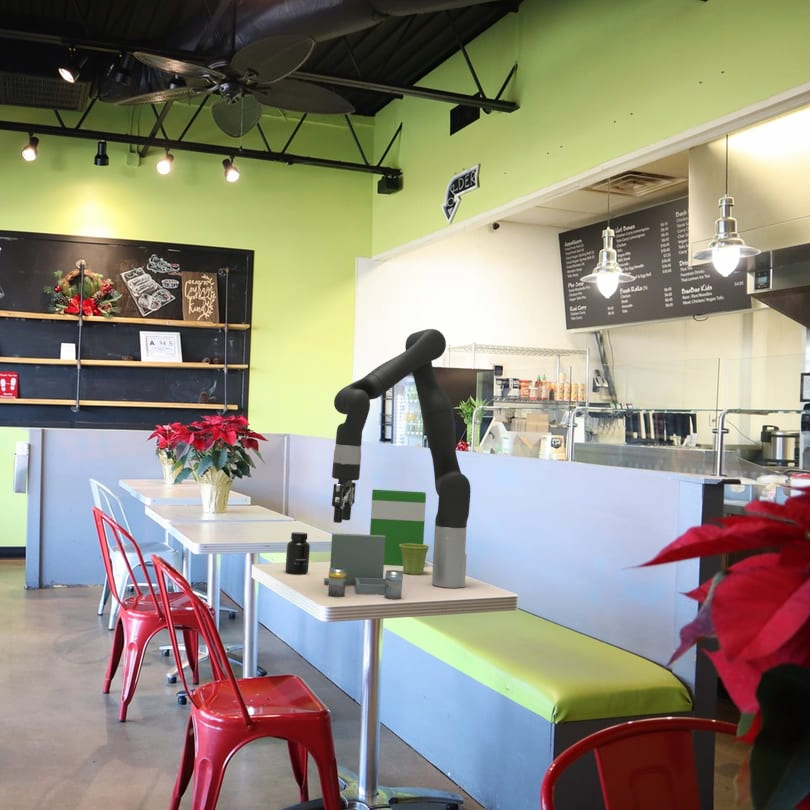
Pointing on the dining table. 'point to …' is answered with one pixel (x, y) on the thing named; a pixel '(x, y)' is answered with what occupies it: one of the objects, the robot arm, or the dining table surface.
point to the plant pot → (413, 558)
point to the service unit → (358, 556)
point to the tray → (370, 586)
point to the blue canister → (393, 584)
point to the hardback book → (397, 521)
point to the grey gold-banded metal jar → (337, 582)
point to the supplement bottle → (297, 554)
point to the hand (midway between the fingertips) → (341, 521)
